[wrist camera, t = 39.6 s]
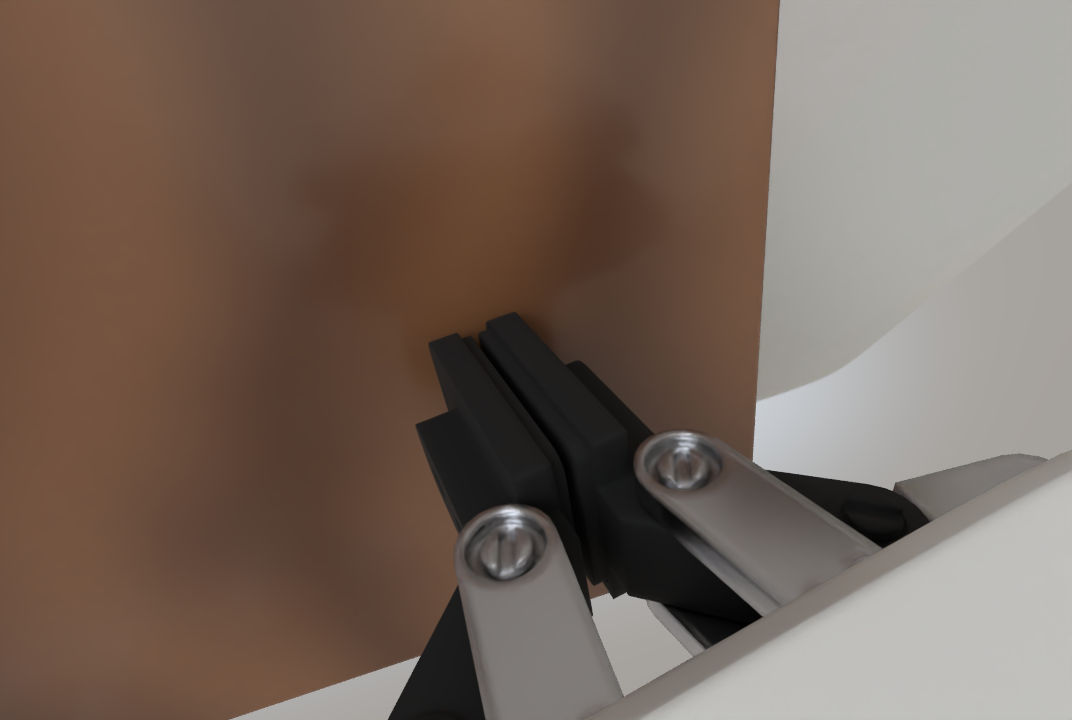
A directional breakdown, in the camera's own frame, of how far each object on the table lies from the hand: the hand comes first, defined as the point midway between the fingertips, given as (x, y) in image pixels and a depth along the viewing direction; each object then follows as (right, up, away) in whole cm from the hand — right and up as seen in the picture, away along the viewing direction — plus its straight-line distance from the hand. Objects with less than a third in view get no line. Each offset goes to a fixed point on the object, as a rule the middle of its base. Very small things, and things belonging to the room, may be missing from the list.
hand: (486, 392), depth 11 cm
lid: (-3, 0, 0) cm, 3 cm away
